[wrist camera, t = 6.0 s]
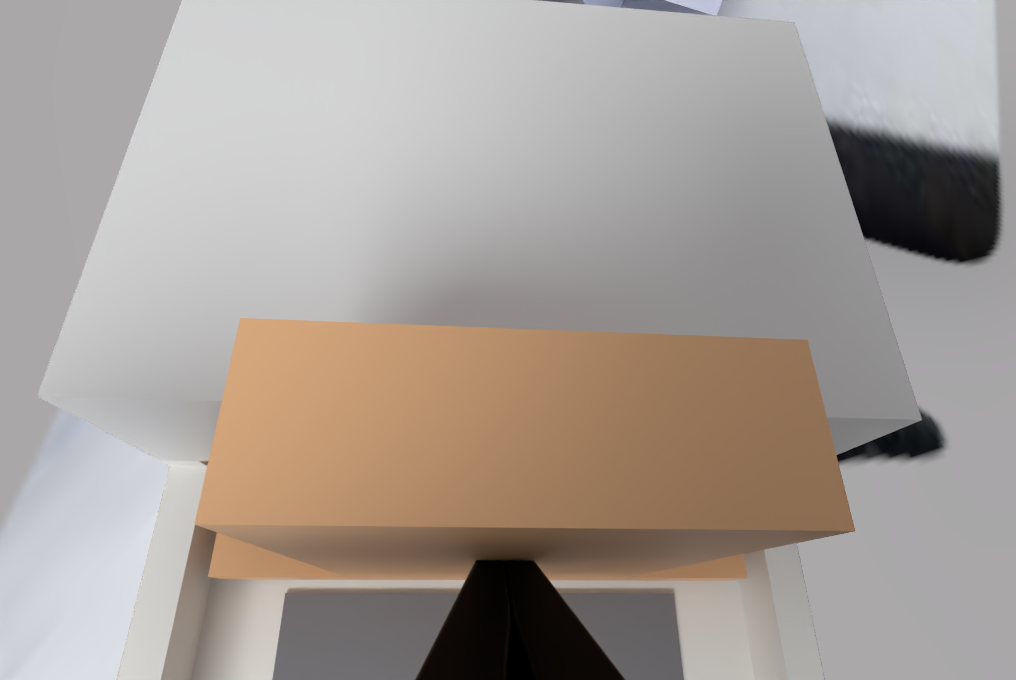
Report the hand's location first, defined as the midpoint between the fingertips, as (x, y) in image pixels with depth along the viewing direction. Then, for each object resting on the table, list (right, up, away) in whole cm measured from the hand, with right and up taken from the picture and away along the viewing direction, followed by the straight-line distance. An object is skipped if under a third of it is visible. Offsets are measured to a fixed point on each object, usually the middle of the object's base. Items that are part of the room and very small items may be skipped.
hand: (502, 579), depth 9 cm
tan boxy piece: (0, +2, +6) cm, 6 cm away
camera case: (-1, 0, +9) cm, 9 cm away
